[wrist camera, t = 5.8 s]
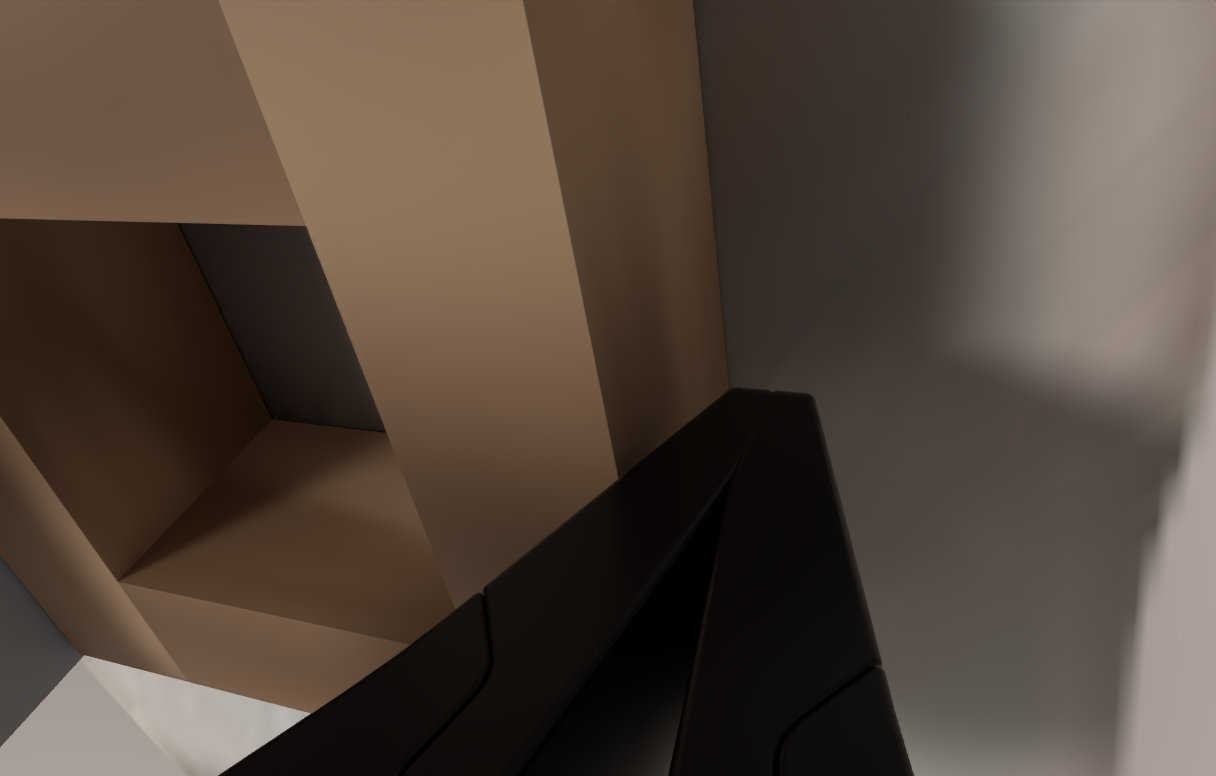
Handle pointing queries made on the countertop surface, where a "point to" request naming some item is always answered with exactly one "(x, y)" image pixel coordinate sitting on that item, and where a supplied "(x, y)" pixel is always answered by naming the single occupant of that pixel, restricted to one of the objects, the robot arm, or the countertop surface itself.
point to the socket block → (366, 298)
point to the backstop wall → (27, 653)
